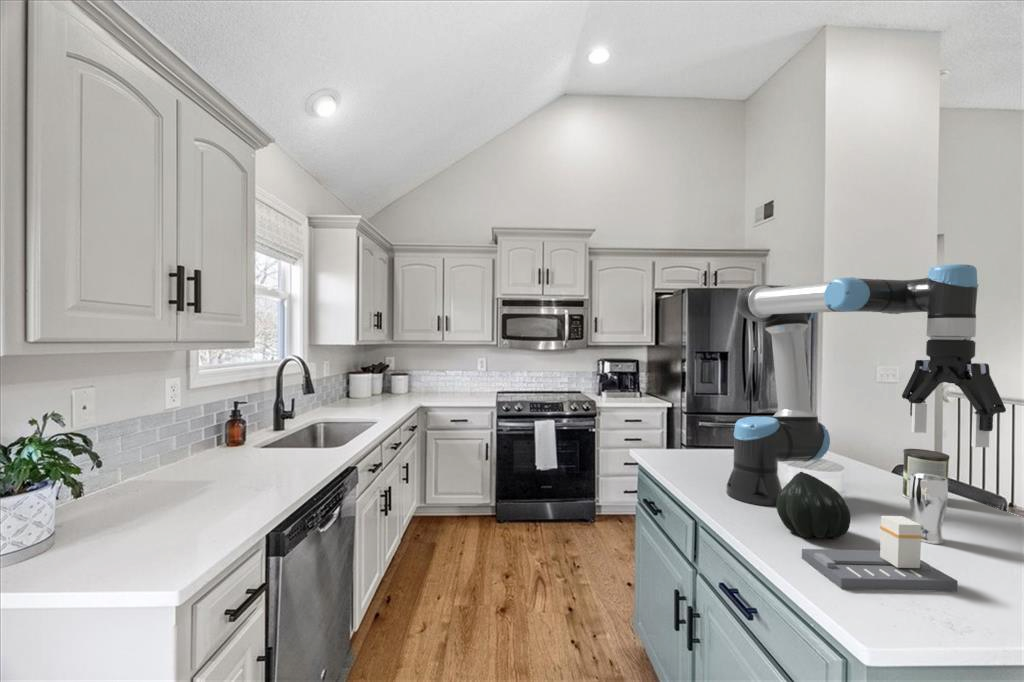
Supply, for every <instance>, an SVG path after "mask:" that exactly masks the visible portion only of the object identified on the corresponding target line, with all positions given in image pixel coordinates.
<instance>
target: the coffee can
mask: <svg viewBox="0 0 1024 682" xmlns="http://www.w3.org/2000/svg"><path fill="white" fill-rule="evenodd" d="M902 451H903V467H902V468H903V469H902V470H903V474H902V476H903V478H902V495H901V496H902V497H903V496H904V498H905V497H906V498H905V499H907V498H908V499H907V500H909V482H910V474H911V473H926V474H932V475H937V476H940V477H943V478H946V479H947V488H948V489H949V467H950V466H949V460H950V457H951V456H950V455H948V454H946V453H945V452H940V451H935V450H931V449H930V450H929V449H922V448H905V449H903V450H902ZM948 504H949V503H948V501H947V505H948Z"/></svg>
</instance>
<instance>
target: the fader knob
mask: <svg viewBox="0 0 1024 682" xmlns="http://www.w3.org/2000/svg"><path fill="white" fill-rule="evenodd" d="M880 521H881V522H880V525H879V529H880V543H879V545H880V547H879V548H880V550H879V551H880V557H881V558H883V559H884V560H886V561H888V562H889V563H891V564H893V565H894V566H896V567H897V568H920V560H921V545H922V543H921V542H922V541H921V539H922V536H921V525H920V524H918V523H916V522H914V521H912V520H911V519H910V518H908V517H905V516H903V515H881V517H880Z"/></svg>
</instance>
